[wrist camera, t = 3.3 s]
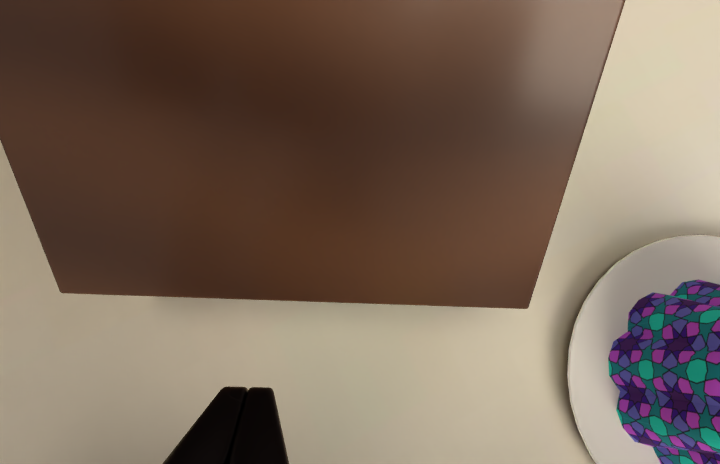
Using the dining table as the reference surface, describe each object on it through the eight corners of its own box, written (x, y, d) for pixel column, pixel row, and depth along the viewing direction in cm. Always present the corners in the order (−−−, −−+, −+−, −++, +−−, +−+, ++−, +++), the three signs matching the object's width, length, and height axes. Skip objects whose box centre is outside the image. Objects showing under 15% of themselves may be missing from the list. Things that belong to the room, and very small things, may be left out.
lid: (-159, -352, 8) (-203, -370, 8) (699, -302, 8) (727, -315, 8) (72, 275, 16) (59, 294, 15) (522, 291, 16) (528, 310, 15)
